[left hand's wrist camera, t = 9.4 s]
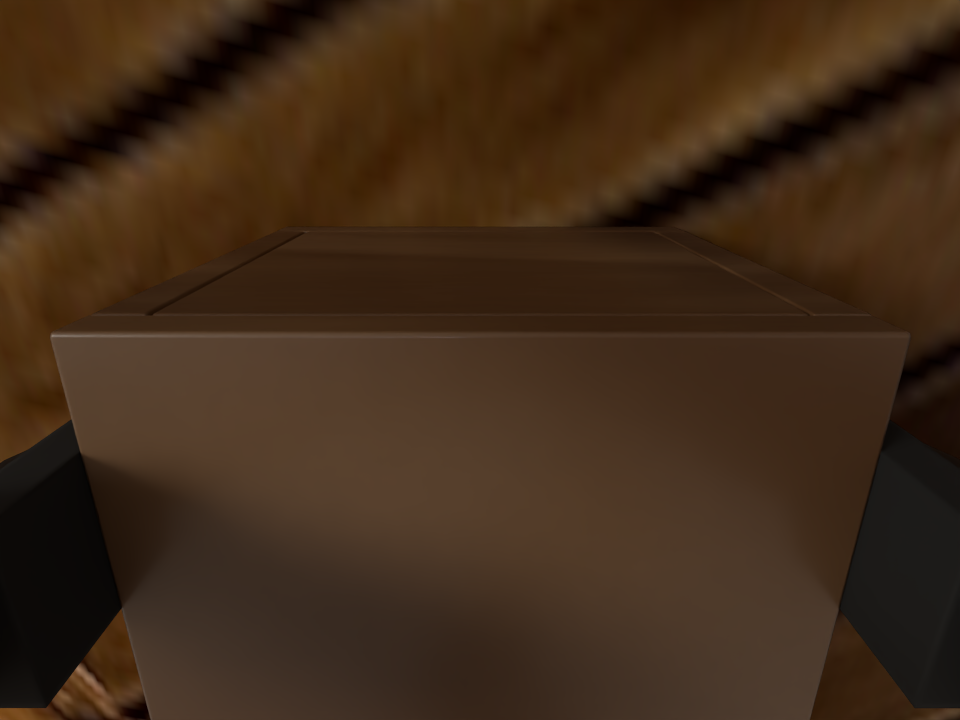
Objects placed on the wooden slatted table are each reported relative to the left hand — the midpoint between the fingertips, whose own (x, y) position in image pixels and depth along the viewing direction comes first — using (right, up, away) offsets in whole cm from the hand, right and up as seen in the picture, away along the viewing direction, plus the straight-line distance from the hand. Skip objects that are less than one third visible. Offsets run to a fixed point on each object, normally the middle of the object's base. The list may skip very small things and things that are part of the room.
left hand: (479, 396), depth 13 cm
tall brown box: (0, -4, +7) cm, 8 cm away
